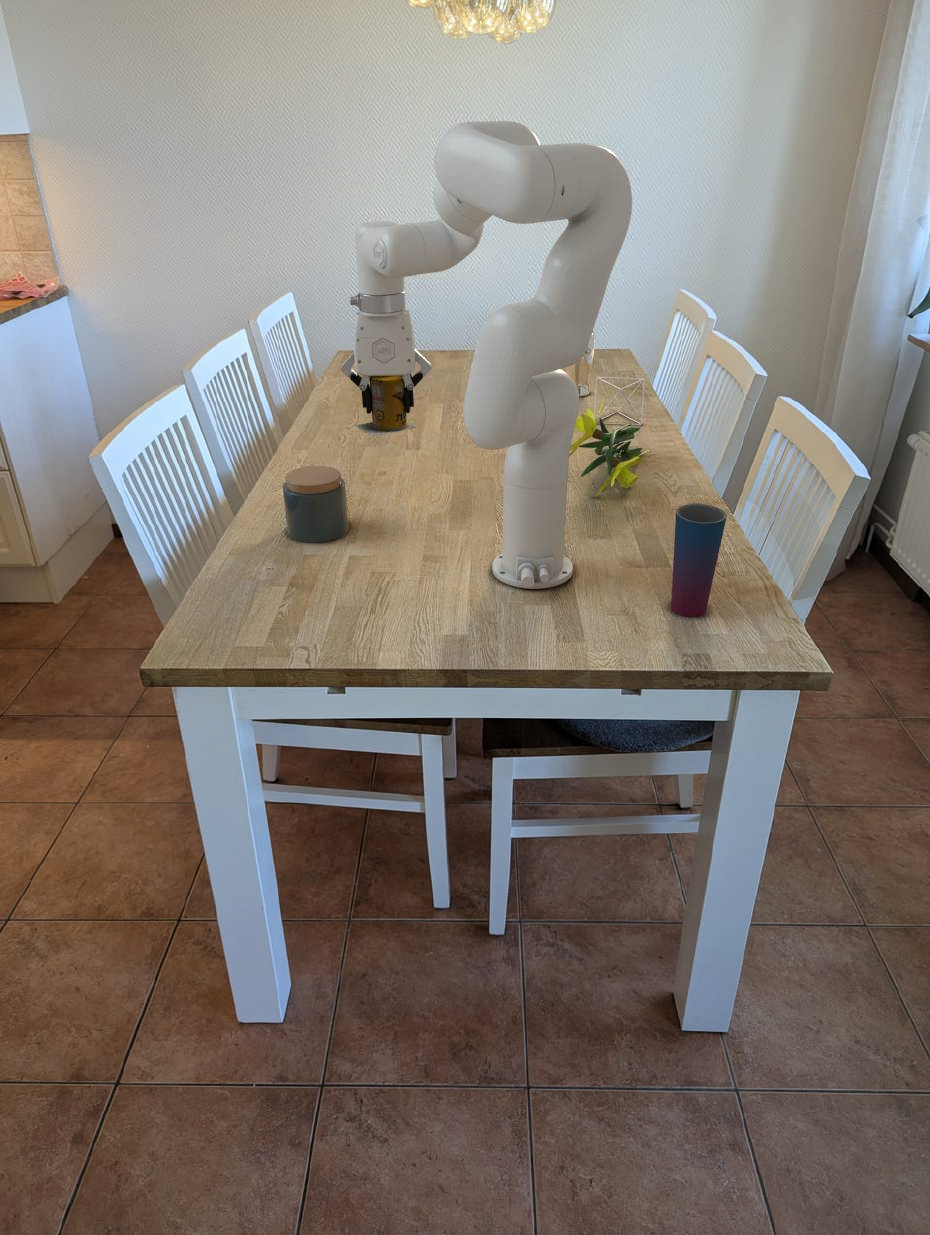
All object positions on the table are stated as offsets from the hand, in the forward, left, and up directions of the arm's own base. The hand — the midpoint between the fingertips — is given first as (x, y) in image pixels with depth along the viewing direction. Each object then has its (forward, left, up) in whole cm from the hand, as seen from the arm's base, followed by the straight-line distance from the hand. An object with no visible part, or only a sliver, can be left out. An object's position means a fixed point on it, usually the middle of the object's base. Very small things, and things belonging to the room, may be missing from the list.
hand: (388, 410), depth 159 cm
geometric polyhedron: (+50, -48, -18) cm, 71 cm away
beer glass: (+72, -41, -18) cm, 84 cm away
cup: (-39, -46, -18) cm, 63 cm away
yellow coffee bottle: (0, +1, -3) cm, 3 cm away
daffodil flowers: (+14, -41, -18) cm, 47 cm away
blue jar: (-11, +12, -17) cm, 24 cm away
